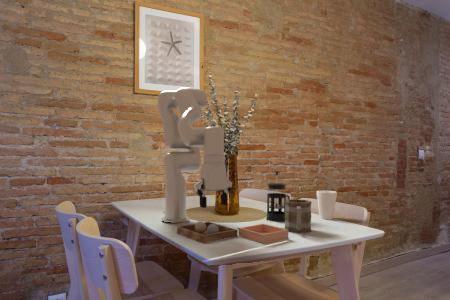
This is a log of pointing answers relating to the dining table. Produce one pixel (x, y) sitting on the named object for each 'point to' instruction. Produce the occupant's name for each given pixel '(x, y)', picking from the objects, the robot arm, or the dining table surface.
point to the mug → (298, 216)
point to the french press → (272, 214)
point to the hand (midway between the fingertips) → (213, 206)
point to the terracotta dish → (263, 233)
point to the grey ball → (212, 229)
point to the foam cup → (326, 204)
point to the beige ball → (200, 227)
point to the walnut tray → (205, 237)
